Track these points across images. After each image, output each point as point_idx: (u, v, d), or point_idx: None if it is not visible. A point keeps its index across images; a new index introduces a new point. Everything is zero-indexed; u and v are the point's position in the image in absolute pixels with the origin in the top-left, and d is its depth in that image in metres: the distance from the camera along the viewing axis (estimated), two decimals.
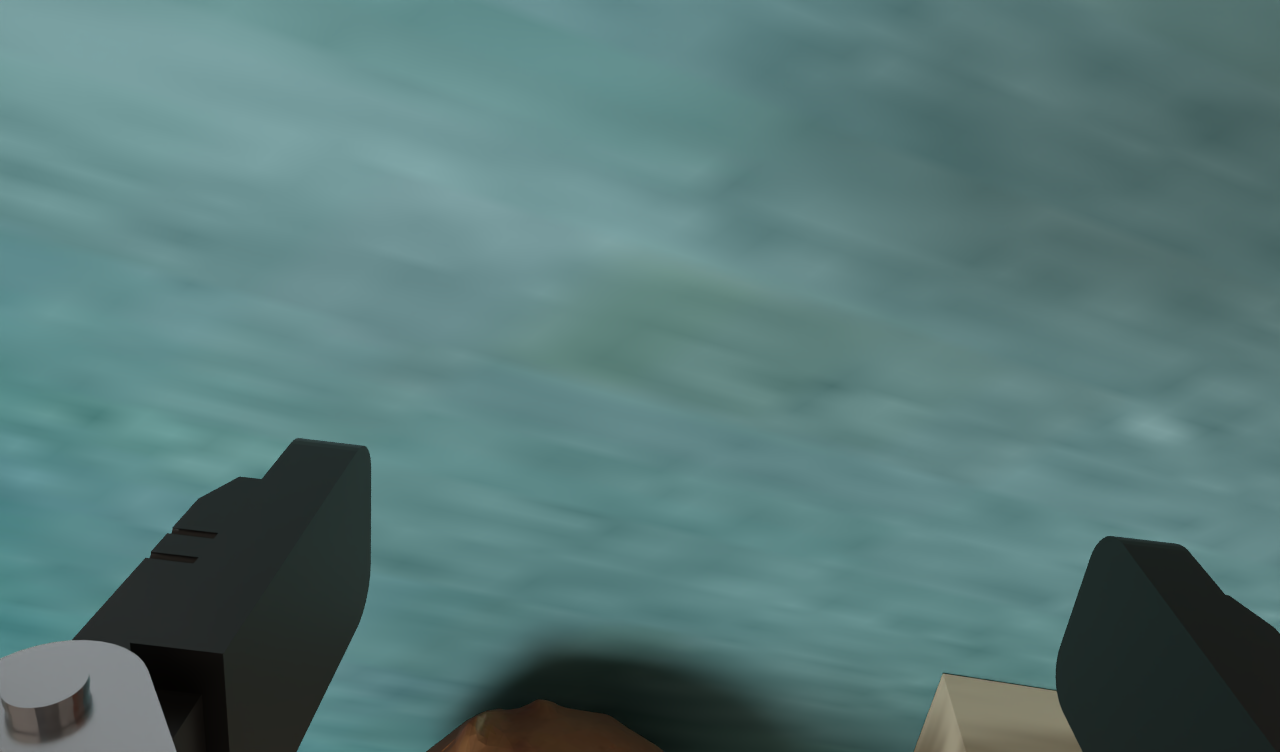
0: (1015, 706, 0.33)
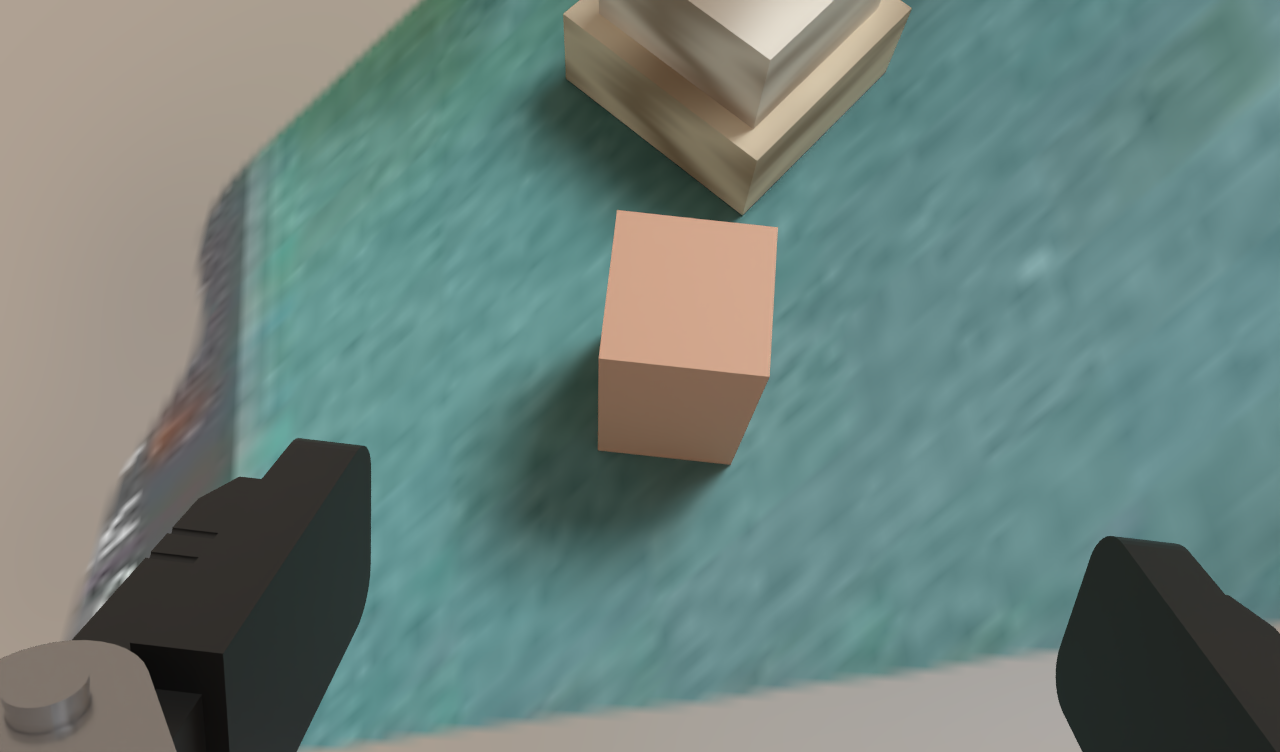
0: (861, 86, 0.43)
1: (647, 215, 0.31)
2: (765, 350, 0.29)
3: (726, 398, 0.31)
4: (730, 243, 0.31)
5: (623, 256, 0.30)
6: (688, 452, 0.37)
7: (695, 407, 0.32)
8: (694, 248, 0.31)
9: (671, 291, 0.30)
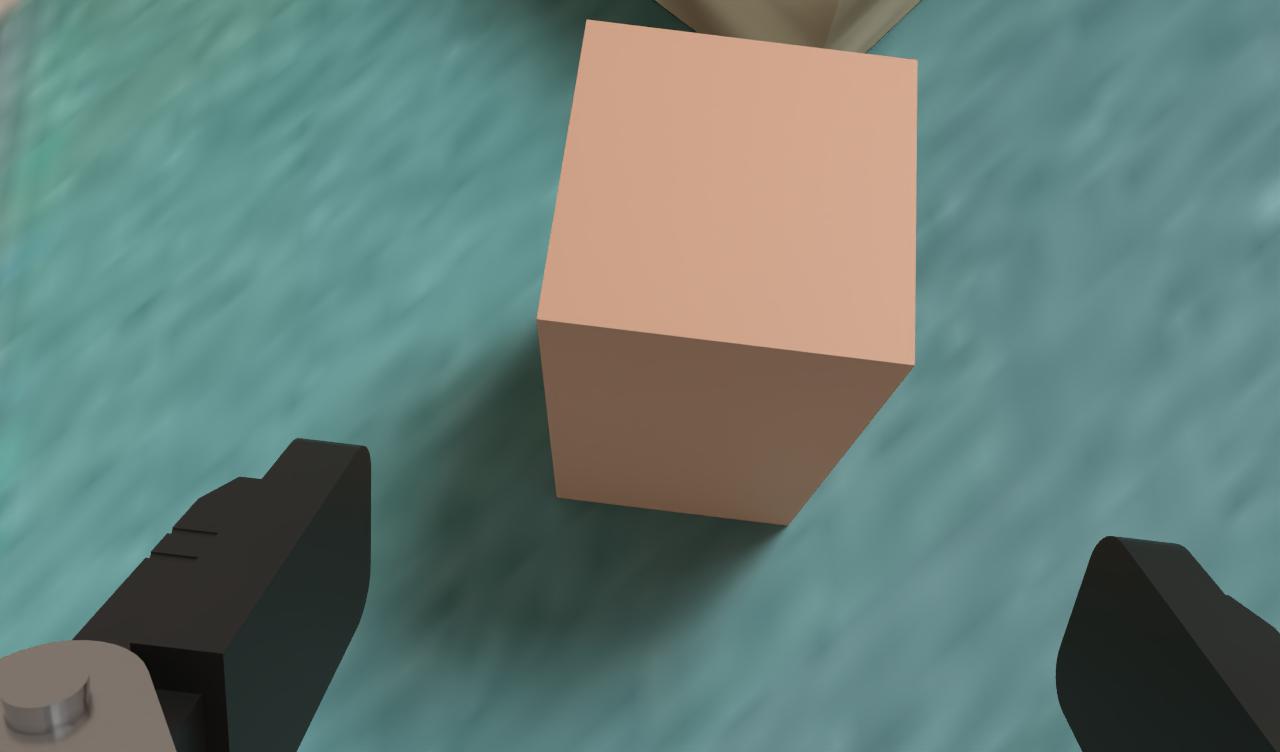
0: None
1: (648, 31, 0.15)
2: (903, 307, 0.13)
3: (807, 411, 0.15)
4: (821, 86, 0.15)
5: (596, 110, 0.14)
6: (716, 504, 0.21)
7: (740, 427, 0.16)
8: (746, 96, 0.15)
9: (698, 181, 0.14)
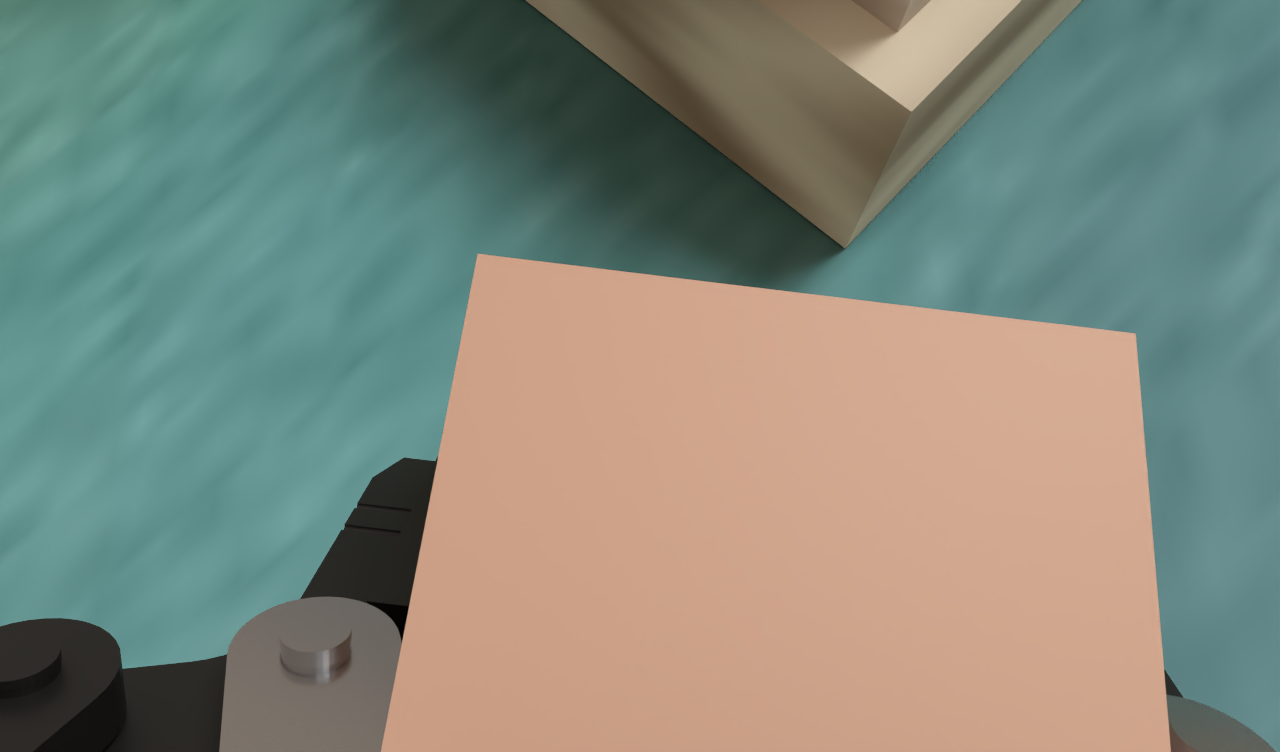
0: None
1: (601, 277, 0.08)
2: None
3: None
4: (949, 400, 0.07)
5: (490, 462, 0.07)
6: None
7: None
8: (799, 424, 0.07)
9: (699, 636, 0.07)
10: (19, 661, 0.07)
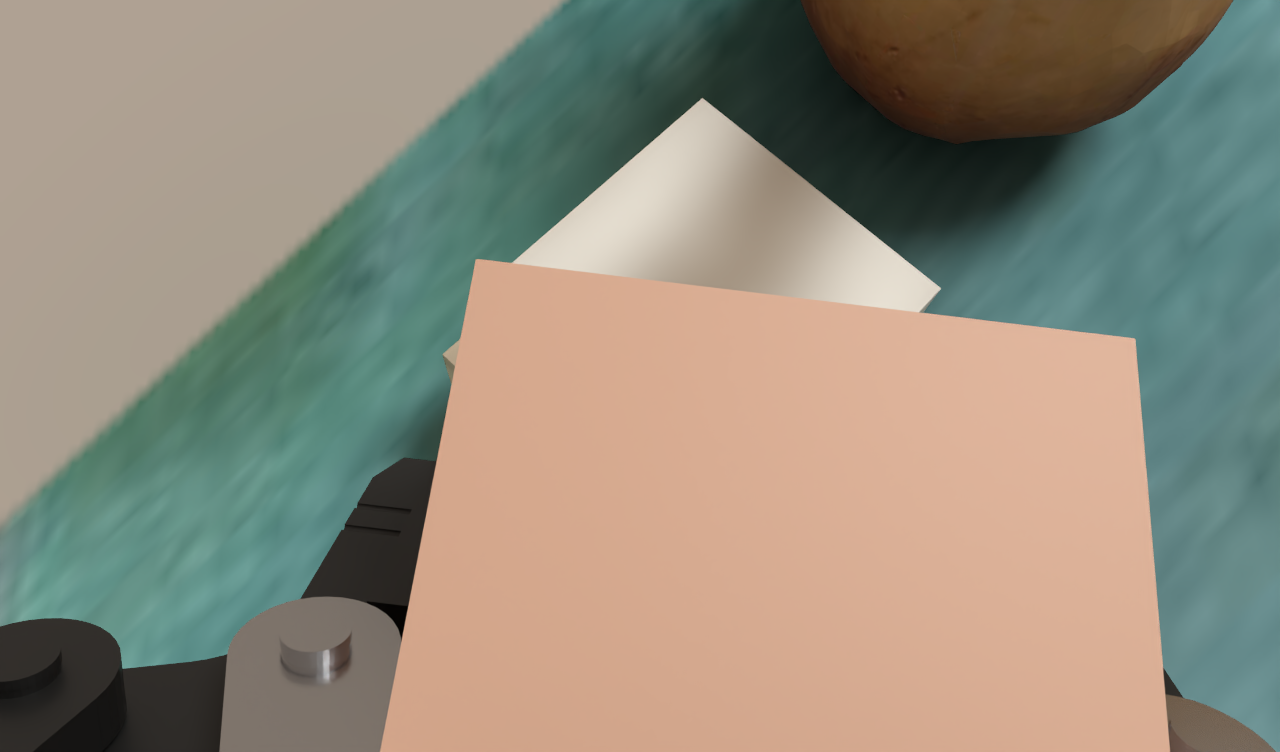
0: None
1: (600, 282, 0.07)
2: None
3: None
4: (948, 404, 0.07)
5: (488, 466, 0.07)
6: None
7: None
8: (798, 429, 0.07)
9: (699, 643, 0.07)
10: (21, 661, 0.07)
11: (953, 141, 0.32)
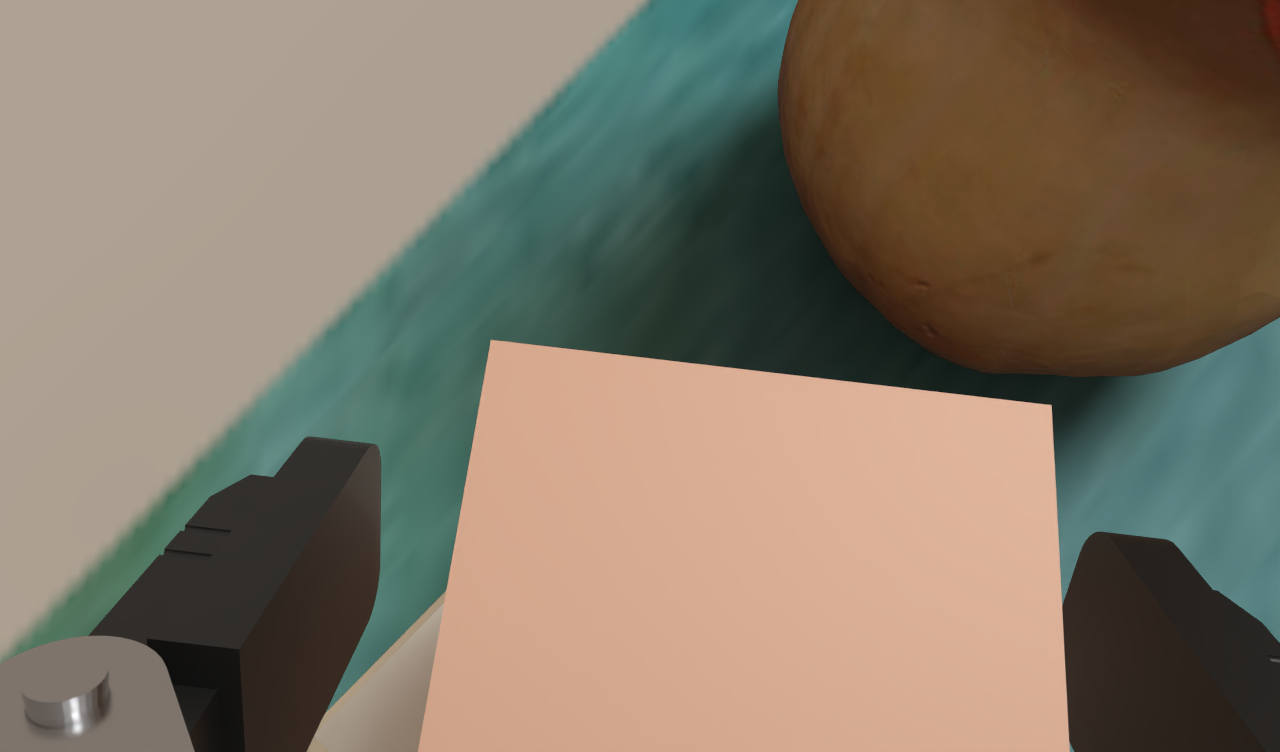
0: None
1: (596, 360, 0.09)
2: None
3: None
4: (891, 464, 0.09)
5: (502, 521, 0.08)
6: None
7: None
8: (764, 487, 0.08)
9: (679, 669, 0.08)
10: None
11: None
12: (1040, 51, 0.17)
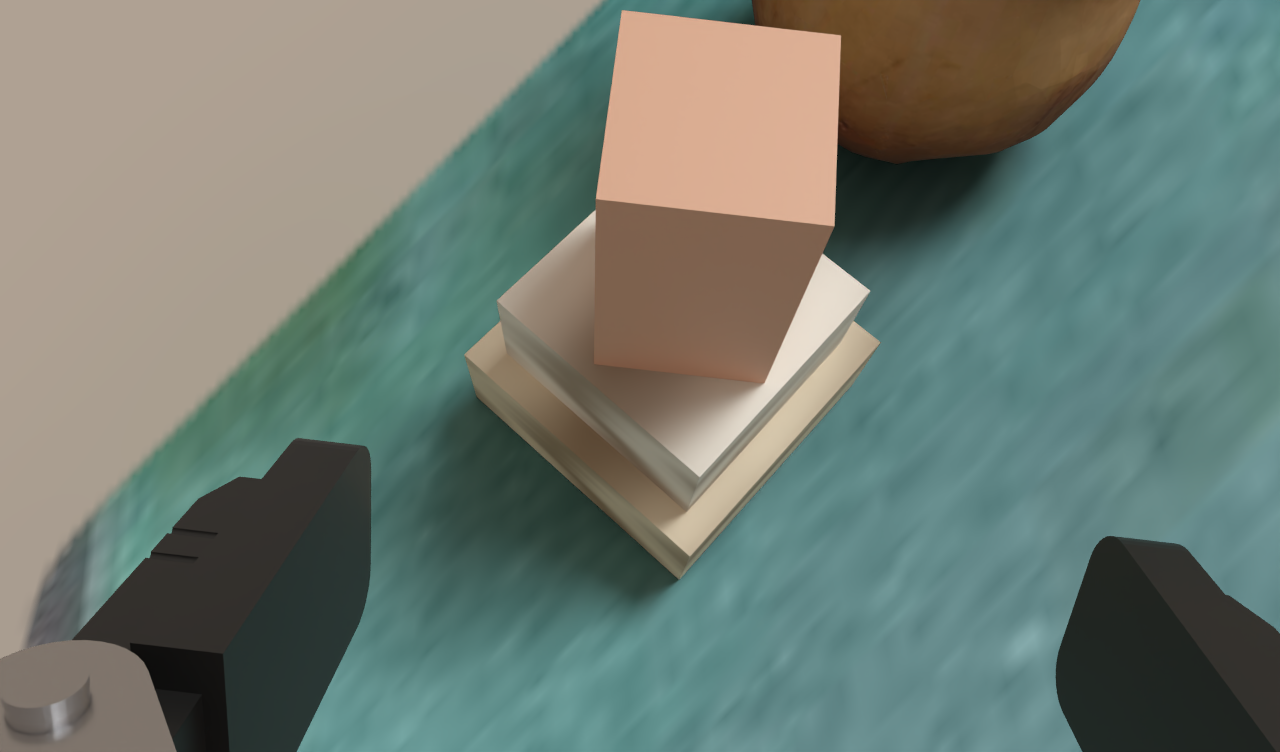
0: (822, 415, 0.36)
1: (663, 17, 0.23)
2: (828, 191, 0.21)
3: (770, 269, 0.23)
4: (776, 53, 0.22)
5: (630, 69, 0.22)
6: (711, 364, 0.28)
7: (726, 286, 0.24)
8: (728, 60, 0.22)
9: (696, 114, 0.22)
10: None
11: (893, 162, 0.38)
12: None
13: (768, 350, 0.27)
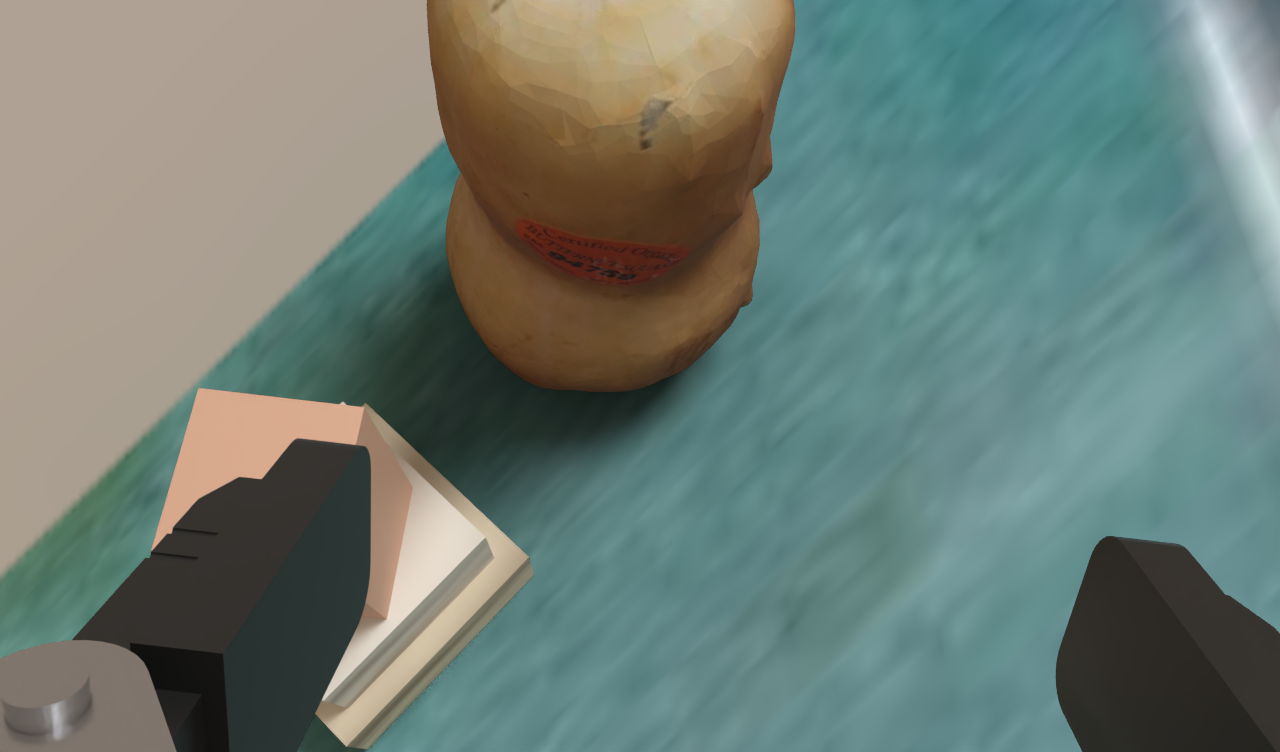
0: (496, 608, 0.44)
1: (229, 394, 0.30)
2: None
3: None
4: (311, 424, 0.30)
5: (196, 439, 0.29)
6: None
7: None
8: (273, 430, 0.30)
9: None
10: None
11: None
12: (500, 250, 0.38)
13: (366, 608, 0.34)
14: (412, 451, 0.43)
